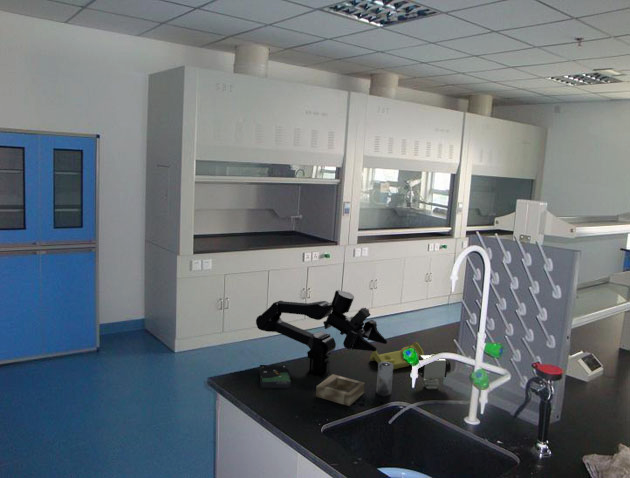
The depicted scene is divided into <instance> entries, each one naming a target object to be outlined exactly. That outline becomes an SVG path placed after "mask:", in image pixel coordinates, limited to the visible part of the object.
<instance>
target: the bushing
mask: <svg viewBox="0 0 630 478" xmlns="http://www.w3.org/2000/svg"><path fill="white" fill-rule="evenodd" d="M393 373H394V369H393V364H392V363H390V362H379V363H377V377H376V378H377V379H376V389H375V393H376V394H377V395H379V396H383V397H388V396H389V397H390V396H391V395H392V386H393V378H394V377H393V375H394V374H393Z"/></svg>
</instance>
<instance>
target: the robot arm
mask: <svg viewBox="0 0 630 478" xmlns="http://www.w3.org/2000/svg"><path fill="white" fill-rule="evenodd" d="M354 299H355V296H354V294H353V293H351V292H349V291H348V292H347V291H344V290H340V289H337V290H335V291H334V296H333V299H332V301H330V302H329V301H326V300H320V301H314V302H309V303H305V302H296V301H295V302H293V301H283V300H278V301H275V302H273V303H272V304H271V305H270V306H269V307H267V309H266V310H265V311H264V312H263V313H262V314H261V315H258V316H257V317H256V319H255V325H256V327H257V329H258V330H260V331H264V332H270V333H271V332H272V333H277V334H280V335H282V336H284V337H287V338H290V339H291V340H294V341H296V342H298V343H301V344H302V345H306V346H307V347H308V348H309V350H308V351H307V352H306V354H307V358H308V359H309V364H308V365H309V368H308V370H307V371H306V373H307V374H310V375H313V376H316V377H317V376H318V377H321V378H323V377H325V376H326V375H328V374H329V373H331V369H330V367H331V366H330V365H331V364H330V363H331V362H330V356H329V355H331V354H332V352H333V351H334V350H335V349H336V346H337V343H336V341H335V338H334V337H333V336H331V334H328V333H326V332H324V331H321V330H320V331H317V332H316V333H311V332H310V331H308V330H305V329H303V328H300V327H298V326H296V325H293V324H290V323H288V322H286V321H283V320H282V318H281V316H282V314H292V315H302V316H307V317H308V318H309V319H313V320H316V321H320V320H323V319H325V318H326V319H325V320H324V321H322V322H323V323H322V324H323V328H324V330H327V329H329V328H331V327H332V328H334V329H336V330H338V331H339V332H340V334H339V335H341V336H343V335H345V338H344V340H343V343H342V344H343V347H344V348H345V349H347V350H348V351H350V350H353V351H354V350H358V351H369V352H370V351H371V352H373V351H377V347H376V346H375V345H374V344H372V343H370V342H375V343H379V344H384V345H386V344H387V343H388V340H387V339H386V338H385V337H384V336H383V334H381V332H380V331H379V330H378V327H377V326H378V323H377V321H375V320H374V319H369V320H367V321H366V319H367V318H369V317H370V316H371V313H370V309H369V308H366V307H360V309H359V310H357V312H356V314H354V315H353V316H350V317H349V316H348V315H346V314H347V313H348V312H349V311H350V309H351V306H352V304H353V302H354ZM345 313H346V314H345Z"/></svg>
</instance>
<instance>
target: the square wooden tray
mask: <svg viewBox="0 0 630 478" xmlns="http://www.w3.org/2000/svg"><path fill="white" fill-rule="evenodd" d="M365 384H366V382H363V381H360V380H355V379H352V378H348V377H345V376H341V375H337V374H333V373H332V374H331V375H330V376H328V377H327V378H325V379H324V380H323V381H322V382H321V383H319V384H317V385H316V390H315V397H316V398H320V399H324V400H328V401H331V402H333V403H337V404H340V405H345V406H347V407H351V405H353V403H355V402H356V401H357V400H358V399H359V398H361V396H362V395H363V394H365Z"/></svg>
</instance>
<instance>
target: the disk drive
mask: <svg viewBox="0 0 630 478" xmlns="http://www.w3.org/2000/svg"><path fill="white" fill-rule="evenodd" d="M288 366H289V365H288V364H272V365H269V366H268V365H267V364H260V365H259V380H260V381H259V382H260V383H259V384H260V385H259V386H260V388H261V389H267V388H268V389H269V388H270V389H277V388H278V389H287V388H288V389H289V388H292V387H291V386H292V383H291V380H292V379H291V375H290V370H289V367H288Z"/></svg>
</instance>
